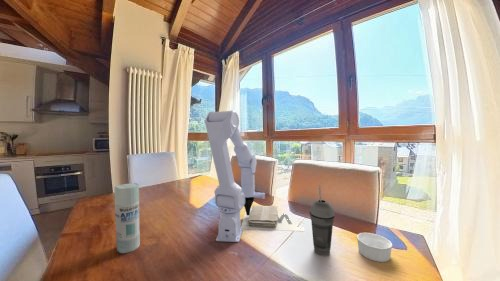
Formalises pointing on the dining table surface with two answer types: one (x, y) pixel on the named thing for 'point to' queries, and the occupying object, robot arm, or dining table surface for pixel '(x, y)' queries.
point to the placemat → (281, 225)
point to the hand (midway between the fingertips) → (248, 214)
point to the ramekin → (374, 247)
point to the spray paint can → (127, 217)
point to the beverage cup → (322, 225)
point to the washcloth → (263, 216)
